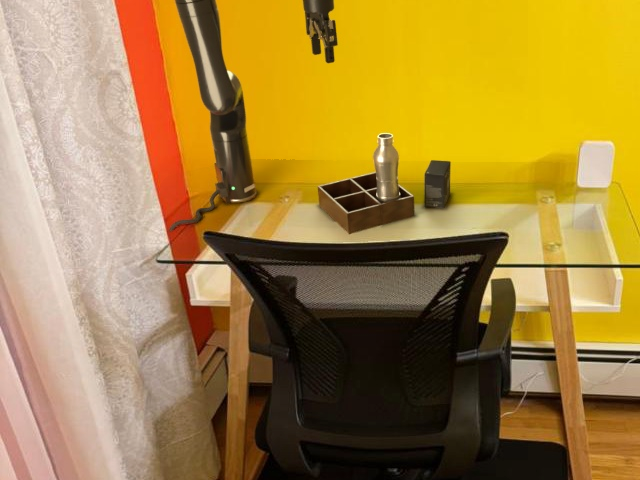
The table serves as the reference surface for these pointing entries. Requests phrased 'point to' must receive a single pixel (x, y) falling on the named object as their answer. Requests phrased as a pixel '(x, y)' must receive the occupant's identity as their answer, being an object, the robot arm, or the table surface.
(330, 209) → the compartment tray
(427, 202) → the box
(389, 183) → the silver metal bottle
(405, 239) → the table surface
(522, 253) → the table surface
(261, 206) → the table surface
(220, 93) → the robot arm
